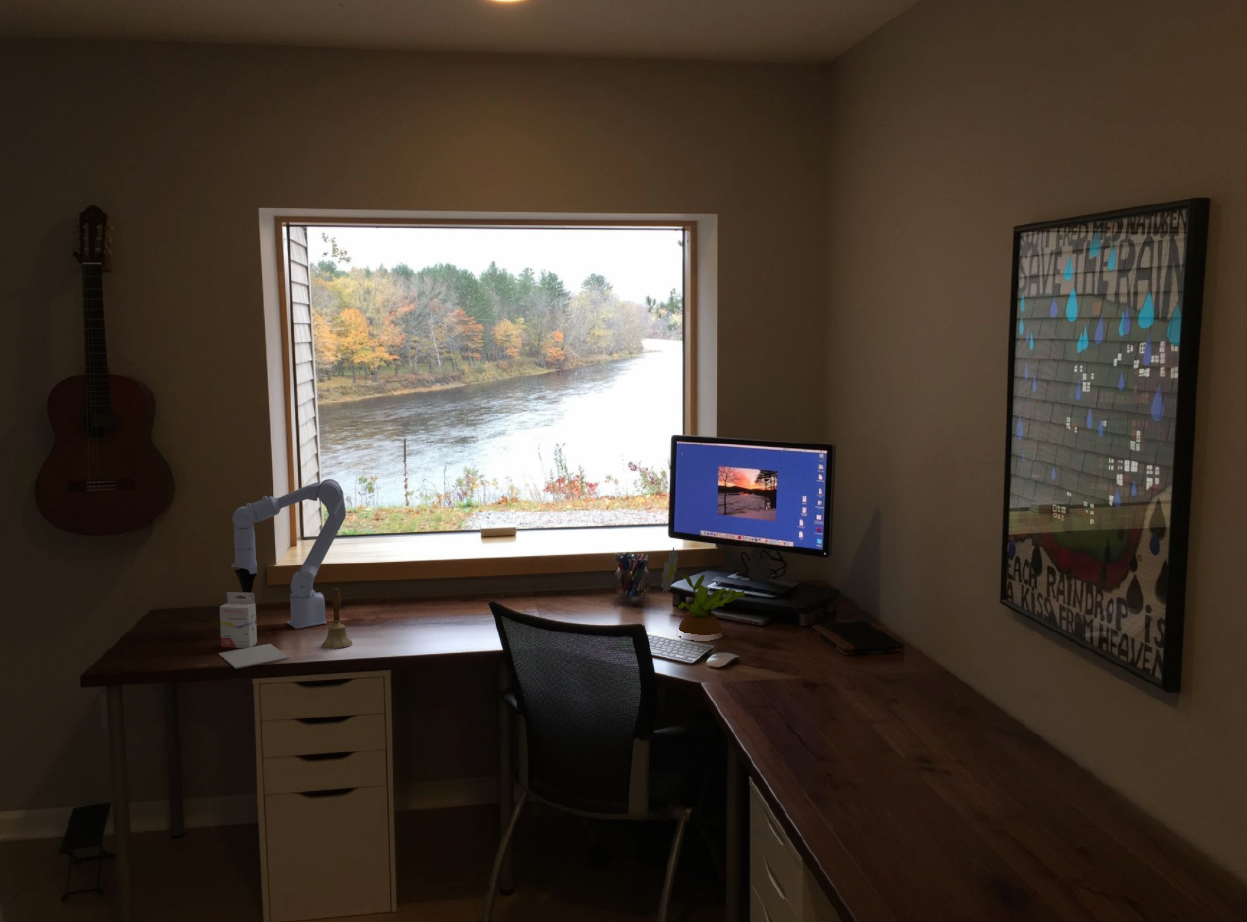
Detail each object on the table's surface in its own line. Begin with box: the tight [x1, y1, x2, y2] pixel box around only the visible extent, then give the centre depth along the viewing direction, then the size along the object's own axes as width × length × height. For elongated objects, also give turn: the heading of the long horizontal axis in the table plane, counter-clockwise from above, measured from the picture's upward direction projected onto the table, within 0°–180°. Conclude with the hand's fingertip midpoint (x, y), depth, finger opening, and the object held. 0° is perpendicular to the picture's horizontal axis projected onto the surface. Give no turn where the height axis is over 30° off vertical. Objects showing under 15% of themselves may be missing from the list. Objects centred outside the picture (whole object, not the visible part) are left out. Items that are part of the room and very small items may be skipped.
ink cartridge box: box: [219, 591, 258, 649], centre depth 292 cm, size 9×5×15 cm, turn 84°
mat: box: [218, 643, 290, 670], centre depth 283 cm, size 14×15×1 cm
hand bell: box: [321, 588, 353, 650], centre depth 292 cm, size 8×8×16 cm
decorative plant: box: [660, 547, 746, 635], centre depth 298 cm, size 27×24×25 cm
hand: (247, 593), depth 309 cm, fingers closed
